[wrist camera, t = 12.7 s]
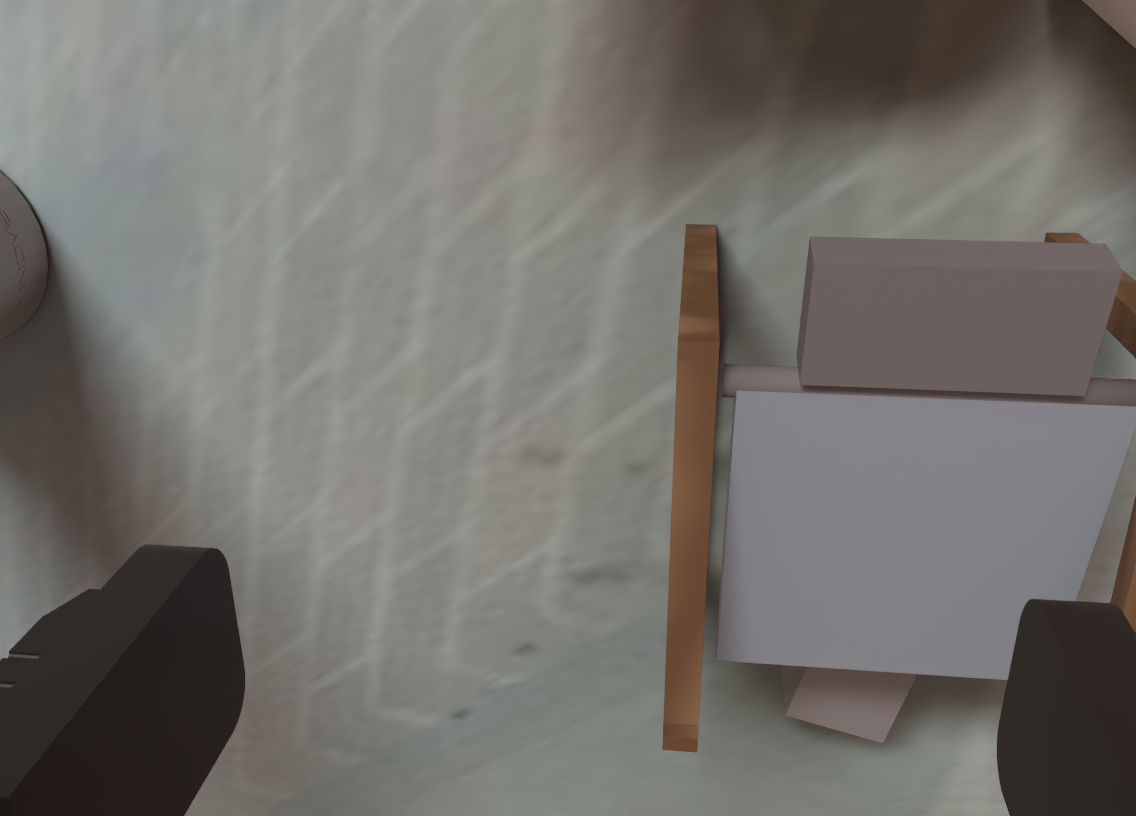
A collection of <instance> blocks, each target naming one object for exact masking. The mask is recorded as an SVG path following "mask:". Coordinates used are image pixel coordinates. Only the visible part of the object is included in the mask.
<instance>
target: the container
mask: <svg viewBox="0 0 1136 816" xmlns="http://www.w3.org/2000/svg"><path fill="white" fill-rule="evenodd" d="M1082 1H1083V2H1084V3H1086V4H1087V5H1088V6H1089V7H1090V8H1091V9H1092V10H1093V11H1094V12H1096V13H1097V14H1098V15H1099V16H1100V17H1101V18H1102V19H1103V20H1104V21H1105V22H1107V23H1108V24H1109V25H1110V26H1111V27H1112V28H1113V29H1114V30H1115V31H1117V32H1118V33H1119V34H1120V35H1121V36H1122V37H1123V38H1124V39H1125V40H1126V41H1128V42H1129V43H1130V44H1131V45H1132V46H1133V47H1134V48H1135V49H1136V0H1082Z"/></svg>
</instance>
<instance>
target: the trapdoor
mask: <svg viewBox="0 0 1136 816" xmlns="http://www.w3.org/2000/svg"><path fill="white" fill-rule="evenodd" d="M1122 273H1123V271H1122V270H1121V268H1120V266H1119V265H1118V263H1117V262H1116V260H1115V258H1114V257H1113V255H1112V254H1111V252H1110V250H1109V249H1108V247H1107V246H1106V244H1086V243H1045V242H1004V241H963V240H922V239H881V238H840V237H810V241H809V250H808V259H807V268H806V277H805V286H804V295H803V304H802V313H801V321H800V330H799V339H798V348H797V363H798V367H783V366H756V365H729V364H724V367H723V385H722V397H732V398H734V410H733V423H732V437H731V450H730V464H729V477H728V491H727V504H726V518H725V531H724V545H723V558H722V572H721V585H720V599H719V612H718V626H717V639H716V661H731V662H746V663H760V664H775V665H790V666H805V667H820V668H835V669H850V670H864V671H879V672H894V673H909V674H924V675H939V676H954V677H969V678H983V679H998V680H1008V676H1009V671H1010V666H1011V661H1012V656H1013V651H1014V646H1015V641H1016V636H1017V631H1018V626H1019V621H1020V617H1021V613H1022V610H1023V608H1024V606H1025V604H1026V603H1027V602H1028V601H1029V600H1030V599H1045V600H1062V601H1076V599H1077V596H1078V593H1079V590H1080V587H1081V584H1082V581H1083V578H1084V576H1085V573H1086V570H1087V567H1088V564H1089V561H1090V558H1091V555H1092V553H1093V550H1094V547H1095V544H1096V541H1097V538H1098V535H1099V532H1100V529H1101V527H1102V524H1103V521H1104V518H1105V515H1106V512H1107V509H1108V506H1109V504H1110V501H1111V498H1112V495H1113V492H1114V489H1115V486H1116V483H1117V480H1118V478H1119V475H1120V472H1121V469H1122V466H1123V463H1124V460H1125V457H1126V454H1127V452H1128V449H1129V446H1130V443H1131V440H1132V437H1133V434H1134V431H1135V429H1136V380H1130V379H1104V378H1091V375H1092V371H1093V368H1094V365H1095V362H1096V358H1097V355H1098V352H1099V349H1100V345H1101V342H1102V339H1103V335H1104V332H1105V329H1106V326H1107V322H1108V319H1109V316H1110V313H1111V309H1112V306H1113V303H1114V299H1115V296H1116V293H1117V290H1118V286H1119V283H1120V280H1121V277H1122Z"/></svg>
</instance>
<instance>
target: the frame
mask: <svg viewBox="0 0 1136 816" xmlns="http://www.w3.org/2000/svg"><path fill="white" fill-rule="evenodd" d="M1045 243H1086V244H1090V243H1089V242H1088V241H1087V240H1086V239H1084V238H1083V237H1082V236H1081V235H1080V234H1078V233H1046V237H1045ZM1121 270H1122V269H1121ZM1122 271H1123V270H1122ZM1106 329H1107V330H1108V331H1109V332H1110V333H1111V334H1112V335H1113V336H1114V337H1115V338H1116V339H1117V340H1118V341H1119V342H1120V343H1121V344H1122V345H1123V346H1124V347H1125V348H1126V349H1127V350H1128V351H1129V352H1130V353H1131V354H1132V355H1133V356H1134V357H1135V358H1136V281H1135V280H1134V279H1133V278H1131V277H1130V276H1129V275H1128V274H1127V273H1125V272H1124V271H1123V273H1122V277H1121V280H1120V283H1119V286H1118V290H1117V293H1116V296H1115V299H1114V303H1113V306H1112V309H1111V313H1110V316H1109V319H1108V322H1107V326H1106ZM719 345H720V338H719V306H718V273H717V240H716V225H694V224H686V234H685V248H684V263H683V277H682V292H681V306H680V321H679V335H678V357H677V383H676V409H675V436H674V462H673V488H672V514H671V541H670V567H669V593H668V620H667V646H666V672H665V699H664V725H663V750H673V751H686V752H697V746H698V728H699V710H700V691H701V673H702V655H703V637H704V619H705V600H706V582H707V564H708V546H709V527H710V509H711V491H712V473H713V455H714V436H715V418H716V400H717V382H718V363H719ZM1110 603H1112V604H1115V605H1117V606H1118V607H1119V608H1120V609H1121V611H1122V612H1123V613H1124V615H1125V617H1126V618H1127V620H1128V622H1129V623H1130V625H1131V627H1132V628H1133V630H1134V632H1135V633H1136V497H1135V501H1134V506H1133V510H1132V514H1131V518H1130V522H1129V527H1128V531H1127V535H1126V539H1125V543H1124V548H1123V552H1122V556H1121V560H1120V564H1119V569H1118V573H1117V577H1116V581H1115V585H1114V589H1113V594H1112V598H1111V602H1110Z"/></svg>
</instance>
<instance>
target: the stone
mask: <svg viewBox="0 0 1136 816" xmlns="http://www.w3.org/2000/svg"><path fill="white" fill-rule="evenodd" d="M780 667H781V677H782V688H783V698H784V708H785V716H789V717H792V718H796V719H799V720H803V721H806V722H810V723H813V724H817V725H820V726H824V727H827V728H831V729H834V730H838V731H841V732H845V733H848V734H852V735H855V736H859V737H862V738H866V739H869V740H873V741H876V742H880V743H883V742H884V740H885V738H886V736H887V734H888V732H889V730H890V728H891V726H892V724H893V722H894V720H895V718H896V716H897V714H898V712H899V710H900V708H901V706H902V704H903V702H904V700H905V698H906V696H907V694H908V692H909V690H910V689H911V687H912V685H913V683H914V681H915V679H916V677H917V675H918V674H909V673H894V672H879V671H864V670H850V669H835V668H820V667H805V666H790V665H780Z"/></svg>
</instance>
